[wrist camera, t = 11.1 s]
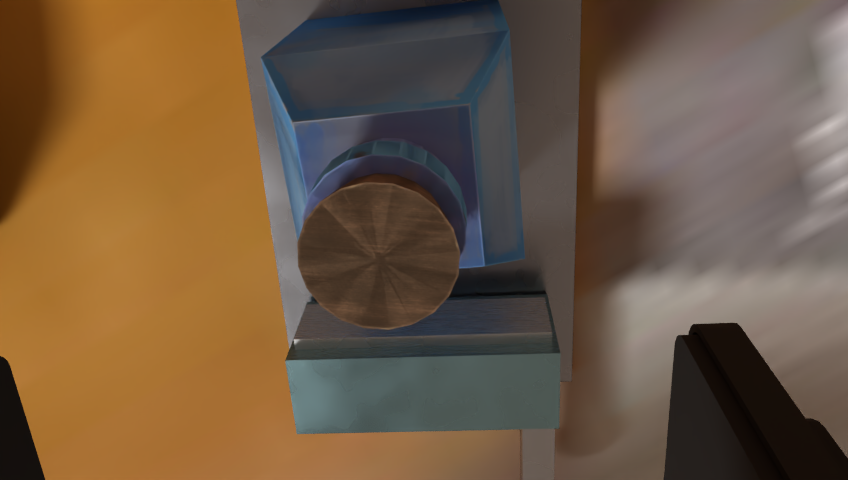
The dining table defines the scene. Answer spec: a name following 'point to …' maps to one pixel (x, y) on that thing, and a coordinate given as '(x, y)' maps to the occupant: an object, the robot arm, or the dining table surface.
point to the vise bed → (536, 140)
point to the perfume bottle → (398, 155)
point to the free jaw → (434, 374)
